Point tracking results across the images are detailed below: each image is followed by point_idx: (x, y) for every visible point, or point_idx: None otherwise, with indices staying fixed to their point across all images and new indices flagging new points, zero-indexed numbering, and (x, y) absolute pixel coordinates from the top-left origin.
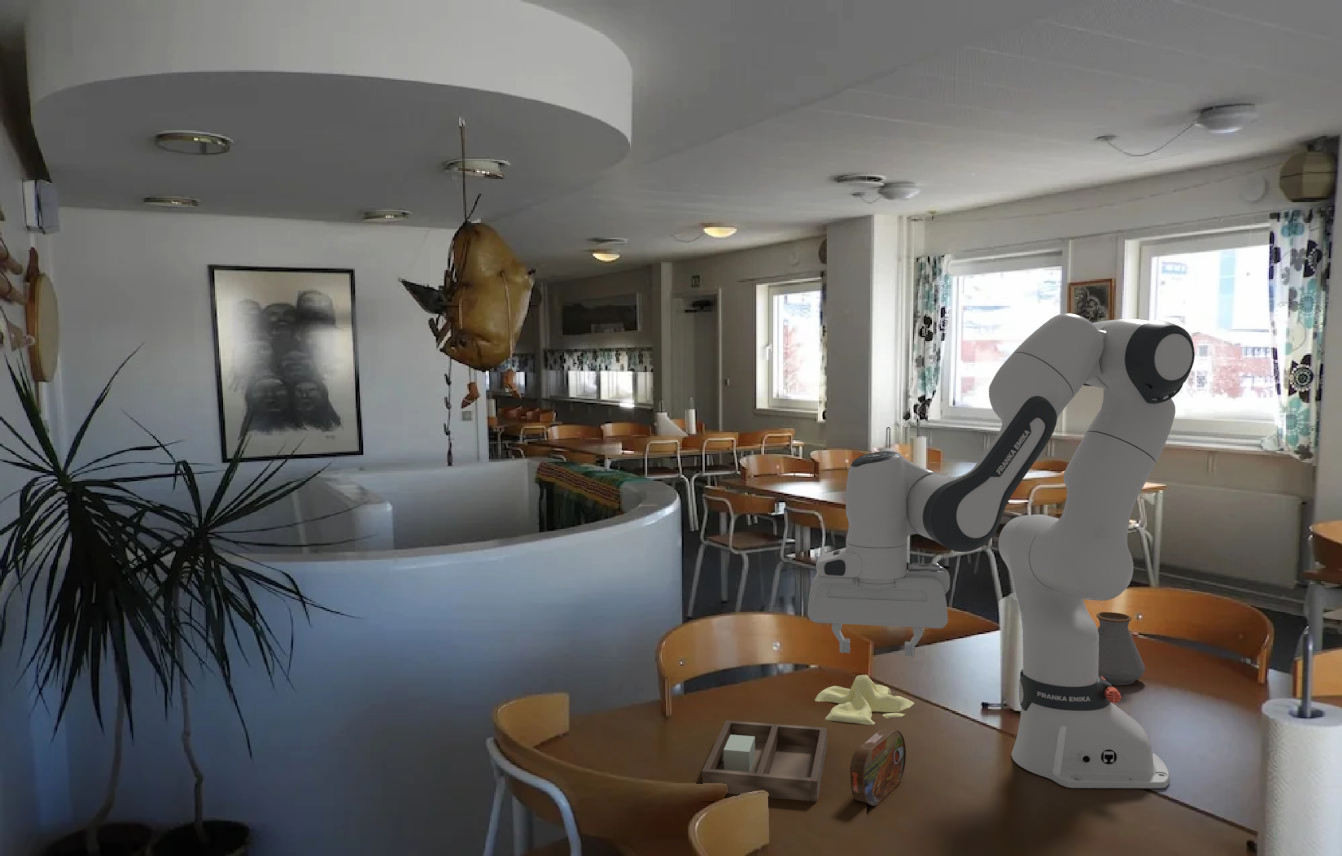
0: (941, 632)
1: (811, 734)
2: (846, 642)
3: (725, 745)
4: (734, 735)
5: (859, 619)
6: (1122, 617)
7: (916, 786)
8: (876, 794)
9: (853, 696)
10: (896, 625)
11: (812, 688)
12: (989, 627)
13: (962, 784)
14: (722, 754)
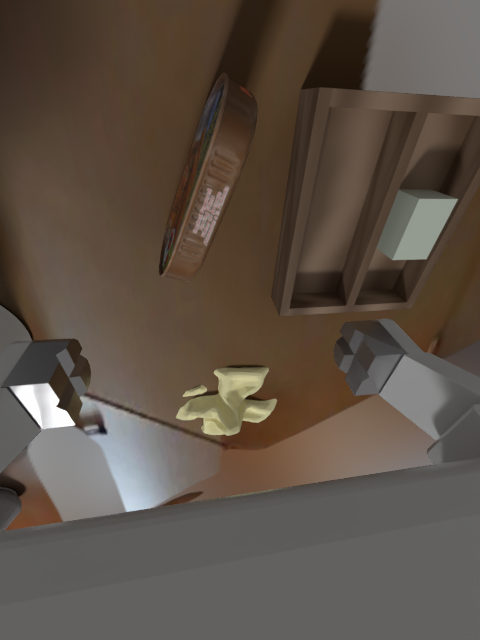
0: None
1: (298, 303)
2: (389, 351)
3: None
4: (421, 257)
5: (453, 528)
6: None
7: (141, 216)
8: (199, 142)
9: (239, 409)
10: (24, 538)
11: (277, 418)
12: None
13: (72, 238)
14: None
